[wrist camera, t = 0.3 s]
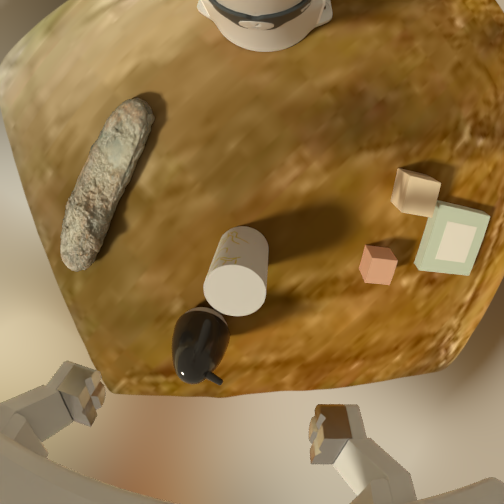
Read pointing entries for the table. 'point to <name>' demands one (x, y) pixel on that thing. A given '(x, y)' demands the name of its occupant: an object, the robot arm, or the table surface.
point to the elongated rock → (103, 182)
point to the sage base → (451, 239)
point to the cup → (238, 272)
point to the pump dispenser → (199, 345)
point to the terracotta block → (377, 265)
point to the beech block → (415, 193)
